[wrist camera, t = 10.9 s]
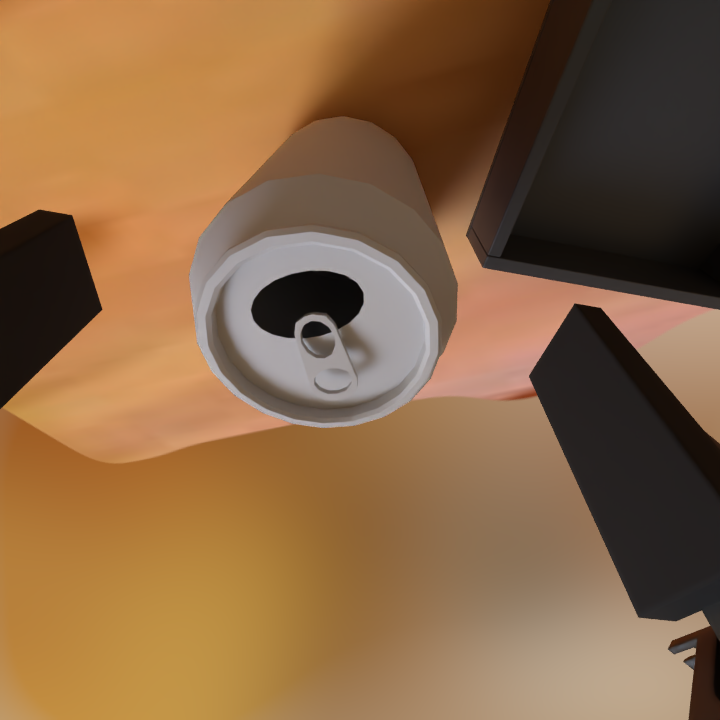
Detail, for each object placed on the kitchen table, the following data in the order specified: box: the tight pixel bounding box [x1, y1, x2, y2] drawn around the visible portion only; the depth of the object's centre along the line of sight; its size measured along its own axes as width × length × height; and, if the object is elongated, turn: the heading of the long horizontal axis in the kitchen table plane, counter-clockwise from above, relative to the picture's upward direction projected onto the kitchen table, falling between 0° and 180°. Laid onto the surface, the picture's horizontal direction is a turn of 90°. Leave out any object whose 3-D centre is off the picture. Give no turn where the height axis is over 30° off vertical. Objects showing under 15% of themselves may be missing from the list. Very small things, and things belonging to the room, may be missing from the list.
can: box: [189, 116, 458, 428], centre depth 14 cm, size 8×8×12 cm
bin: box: [466, 0, 720, 310], centre depth 15 cm, size 13×13×4 cm
